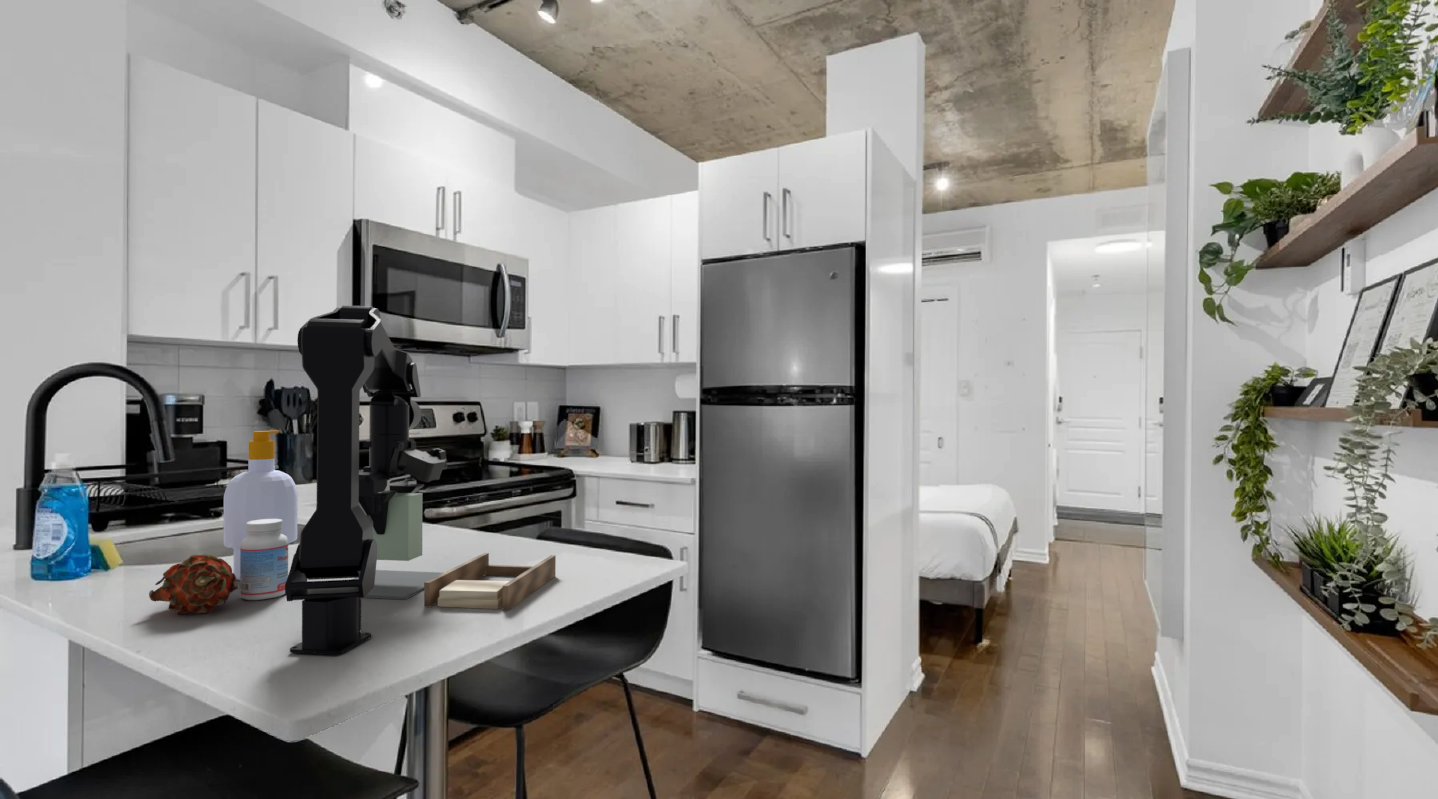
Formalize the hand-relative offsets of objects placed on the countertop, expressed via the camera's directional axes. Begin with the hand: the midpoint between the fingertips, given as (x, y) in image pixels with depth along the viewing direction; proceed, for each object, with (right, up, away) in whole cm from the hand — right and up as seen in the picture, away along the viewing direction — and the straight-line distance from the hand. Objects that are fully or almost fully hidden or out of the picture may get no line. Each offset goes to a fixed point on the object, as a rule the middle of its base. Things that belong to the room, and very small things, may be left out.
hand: (389, 531), depth 111 cm
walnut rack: (+18, -9, -3) cm, 20 cm away
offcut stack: (+17, -9, -9) cm, 21 cm away
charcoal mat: (0, -9, 0) cm, 9 cm away
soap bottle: (-24, -9, +5) cm, 26 cm away
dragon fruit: (-21, -9, -14) cm, 26 cm away
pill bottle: (-16, -9, -6) cm, 19 cm away
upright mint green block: (0, -4, 0) cm, 4 cm away
